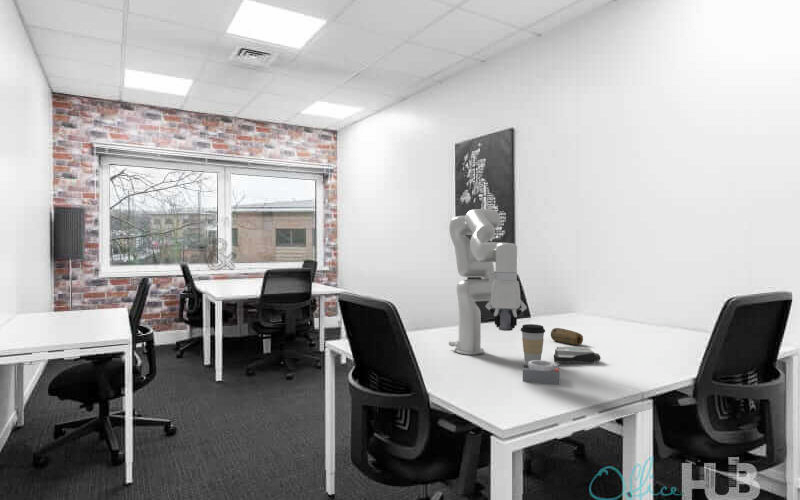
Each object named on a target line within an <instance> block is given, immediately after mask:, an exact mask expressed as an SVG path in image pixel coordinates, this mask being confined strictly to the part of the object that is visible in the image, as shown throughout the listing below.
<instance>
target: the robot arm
mask: <svg viewBox="0 0 800 500" xmlns="http://www.w3.org/2000/svg"><path fill="white" fill-rule="evenodd" d="M500 224H501V215H500V213H499V212H498V211H497V210H495V209H493V208H492V209H490V208H489V209H488V208H476V209H475V208H473V209H470V210H469V211H467V213H466V214H465V215H458V216H454V217H452V218H451V219H450V221H449V225H448V226H449V235H450V238H451V241H452V244H453V246H454V252H455V260H456V267H457V273H458V275H459V276H460V277H463V278H467V279H463V280H460V281H459V282H457V285H456V294H457V295H456V296H457V302H458V340H456V341H451V340H449V341H448V346H450V347H455V348H454V352H456V353H457V354H462V355H466V356H467V355H469V356H471V355H474V356H475V355H482V354H484V353H485V349H484V348H483V347H481V344H482V343H481V340H482V339H481V338H482V337H481V335H482V334H481V332H482V331H481V325H482V324H481V322H482V321H481V317H482V316H481V315H482V314H481V312H482V311H481V309H480V307H479V306H478V305H477V303H476V302H487V303H486V304H485V305H484V306H485V308H486V309H487V310H488V311H489V312H491V314H492V315H493V317H494V325H495V326H496V328H499V310H500V309H511V310H512V311H513V317H512V328H513V329H515V327H516V326H517V325H518V324H517V323H518V322H517V321H518V320H517V319H518V318H517V317H518V316H520V315H521V314H522V313H523V312H524V311H525V310H526V311H527V308H528V307H527V305H526V304H525V303H524V301H523V300H522V299H521V288H520V281H519V280H517V279H518V275H517V274H518V246H517V245H516V244H515V243H513V242H511V243H510V242H497V241H495V242H493V241H491V240H492V239H493V238H494V235H495V233H496V229H498V228H499V227H500ZM466 235H467V236H469V235H470V236H471V237H470V238H468V237H467V236H466ZM489 241H491V242H489ZM494 263H495V267H494ZM468 278H471V279H468ZM473 278H474V279H473ZM475 278H477V279H475ZM478 278H479V279H478ZM520 307H521V308H520Z"/></svg>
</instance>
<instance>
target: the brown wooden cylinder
mask: <svg viewBox="0 0 800 500" xmlns="http://www.w3.org/2000/svg"><path fill="white" fill-rule="evenodd" d="M550 338H551V339H552V340H553V341H554V342H558V343H561V344H566V345H574V346H578V345H582V344H583V342H584V336H583V334H581V333H579V332H577V331H574V330H570V329H565V328H560V327H554V328H553V329H551V331H550Z"/></svg>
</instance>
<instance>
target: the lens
mask: <svg viewBox="0 0 800 500" xmlns="http://www.w3.org/2000/svg"><path fill="white" fill-rule="evenodd" d="M498 314H499V327H498V330H499V331H503V332H504V331H505V332H509V331H513V330H514V328H512V317H513V311H512V309H499V312H498Z"/></svg>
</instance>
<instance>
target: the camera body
mask: <svg viewBox="0 0 800 500" xmlns="http://www.w3.org/2000/svg"><path fill="white" fill-rule="evenodd" d="M522 382H527V383H528V382H529V383H540V384H550V385H560V365H555V362H553V361H548V360H544V359H543V360H542V359H541V360H532V361H529V362H528V363H525V362H523V366H522Z"/></svg>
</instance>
